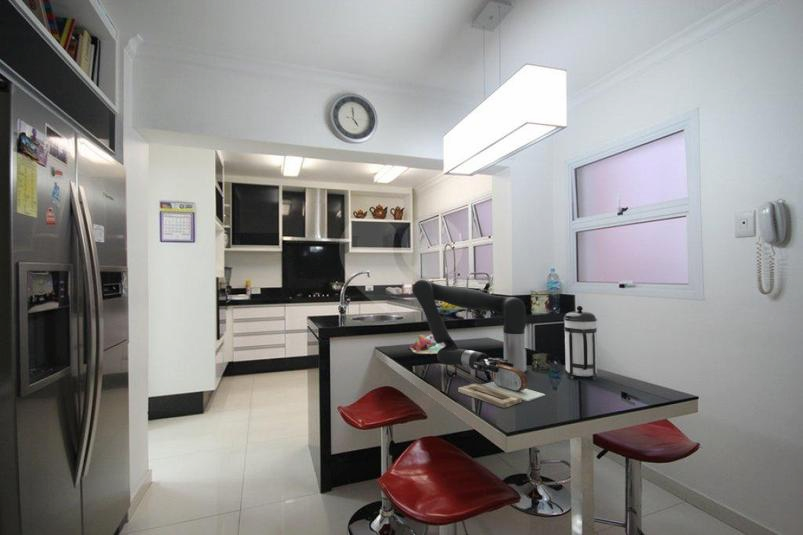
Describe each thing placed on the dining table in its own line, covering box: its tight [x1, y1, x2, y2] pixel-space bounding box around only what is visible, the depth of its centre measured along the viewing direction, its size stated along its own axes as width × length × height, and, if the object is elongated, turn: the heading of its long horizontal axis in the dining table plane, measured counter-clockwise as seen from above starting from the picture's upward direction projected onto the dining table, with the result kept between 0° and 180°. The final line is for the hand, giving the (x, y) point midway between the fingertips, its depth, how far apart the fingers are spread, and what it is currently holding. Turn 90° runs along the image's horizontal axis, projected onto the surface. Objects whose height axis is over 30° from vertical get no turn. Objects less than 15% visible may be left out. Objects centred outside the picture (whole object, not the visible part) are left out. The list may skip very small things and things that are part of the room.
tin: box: [491, 364, 528, 392], centre depth 141 cm, size 15×3×8 cm, turn 34°
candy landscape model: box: [408, 334, 446, 355], centre depth 220 cm, size 25×24×9 cm
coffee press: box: [563, 305, 599, 382], centre depth 157 cm, size 17×16×30 cm
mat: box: [481, 381, 546, 402], centre depth 141 cm, size 10×22×1 cm, turn 35°
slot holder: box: [457, 382, 522, 409], centre depth 134 cm, size 9×21×2 cm, turn 35°
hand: (505, 368), depth 143 cm, fingers open, 8 cm apart
